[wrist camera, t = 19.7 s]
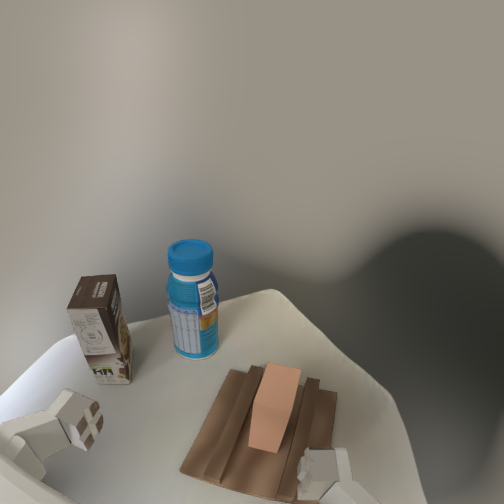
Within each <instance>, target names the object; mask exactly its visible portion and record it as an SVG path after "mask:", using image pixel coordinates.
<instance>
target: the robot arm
mask: <svg viewBox="0 0 504 504" xmlns="http://www.w3.org/2000/svg"><path fill="white" fill-rule="evenodd" d="M99 408H100V407H99V404H98V402H96V401H94V400H91V399H89V398H87V397H85V396H82V395H80V394H78V393H76V392H74V391H72V390H70V389H67V388H66V389H64V390H63V391H62V392H61V393H60V395H59V396H58V397H57V398H56V399H55V401H54V402H53V403H52V404H51V405H50V407H49V408H48V409H47V410H46V411H44V410H42V411H39V412H36V413H33V414H30V415H27V416H23V417H20V418H17V419H14V420H10V421H7V422H3V423H2V424H1V425H0V504H79V503H77V502H75V501H73V500H71V499H70V498H68V497H66V496H64V495H62V494H61V493H59V492H57V491H56V490H54V489H52V488H51V487H49V486H47V485H46V484H44V483H43V482H41V481H42V479H43V477H44V476H45V474H46V469H45V467H44V466H43V465H42V464H41V462H40V461H41V460H43V459H45V458H47V457H49V456H51V455H53V454H55V453H57V452H59V451H61V450H63V449H65V448H67V447H68V446H70V445H71V444H72V445H74V446H76V447H79V448H81V449H83V450H85V451H87V452H88V451H89V449H90V447H91V446H92V444H93V442H94V437H93V436H94V435H97V434H99V432H100V430H101V429H102V425H103V416H102V414H101V413H100V412H99V411H98V409H99ZM297 478H298V479H299V480H300V481H301V482H300V483H299V485H298V486H297V493H298V500H319V502H320V504H381V503H380V502H379V501H378V500H377V499H375V498H374V497H373V496H372V495H371V494H370V493H369V492H368V491H367V490H366V489H365V488H364V487H363V486H362V485H361V484H360V483H359V482H358V481H353V477H352V471H351V466H350V461H349V456H348V450H347V449H346V448H345V447H340V448H332V447H308V448H306V450H305V451H304V456H303V457H301V459H300V461H299V464H298V468H297Z"/></svg>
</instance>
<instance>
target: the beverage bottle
mask: <svg viewBox="0 0 504 504" xmlns="http://www.w3.org/2000/svg"><path fill="white" fill-rule="evenodd" d="M168 262H169V268H170V270H171V272H172V273H171V274H170V276H169V279H168V282H167V287H166V289H167V293H168V299H167V303H168V308H169V310H170V317H171V323H172V330H173V336H174V345H175V349H176V351H177V352H178V353H179V354H180V355H181V356H183V357H185V358H187V359H191V360H202V359H205V358H208V357H210V356H211V355H213V354H214V353H215V352H216V350H217V348H218V305H219V298H218V294H217V290H218V284H217V281H216V278H215V276H214V274H213V273H212V272H211V269H212V266H213V250H212V246H211V245H210V244H209V243H207V242H205V241H202V240H197V239H186V240H181V241H178V242H175V243H174V244H172V245H171V246H170V247H169V249H168Z"/></svg>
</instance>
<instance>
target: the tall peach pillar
mask: <svg viewBox="0 0 504 504" xmlns="http://www.w3.org/2000/svg"><path fill="white" fill-rule="evenodd" d="M301 370H302V369H297V368H292V367H288V366H283V365H278V364H274V363H269V362H268V364H267V366H266V369H265V372H264V375H263V378H262V380H261V383H260V386H259V389H258V391H257V394H256V397H255V399H254V403H253V411H252V419H251V427H250V435H249V443H248V447H252V448H256V449H260V450H264V451H269V452H273V453H277V452H278V449H279V446H280V444H281V441H282V438H283V435H284V432H285V429H286V426H287V423H288V420H289V417H290V414H291V411H292V408H293V404H294V400H295V396H296V391H297V387H298V383H299V379H300V374H301Z"/></svg>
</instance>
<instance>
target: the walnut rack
mask: <svg viewBox="0 0 504 504" xmlns="http://www.w3.org/2000/svg"><path fill="white" fill-rule="evenodd" d="M263 369H264V368H261V367H257V366H253V365H251V367H250V370H249V372H248V374H246V373H242V372H238V371H235V370H231V369H230V371H229V373H228V375H227V377H226V379H225V381H224V383H223V385H222V387H221V389H220V391H219V393H218V395H217V397H216V399H215V401H214V404H213V406H212V408H211V410H210V412H209V414H208V416H207V418H206V419H205V421H204V423H203V425H202V427H201V429H200V431H199V433H198V435H197V437H196V439H195V441H194V443H193V445H192V447H191V449H190V451H189V453H188V455H187V457H186V458H185V460H184V462H183V464H182V466H181V468H180V472H181V473H183V474H186V475H189V476H191V477H194V478H197V479H199V480H202V481H205V482H208V483H211V484H214V485H217V486H220V487H223V488H227V489H230V490H234V491H237V492H241V493H245V494H249V495H253V496H257V497H261V498H266V499H270V500H275V501H280V502H286V503H292V504H319V500H298V493H297V486H298V485H299V483H300V482H301V481H300V480H299V479H298V478H297V468H298V464H299V461H300V459H301V457H303V456H304V451H305V450H306V448H308V447H330V443H331V437H332V430H333V423H334V415H335V407H336V399H337V392H331V391H325V390H319V389H318V388H319V382H320V380H319V379H313V378H308V377H307V380H306V383H305V387H303V386H298V387H297V391H296V396H295V400H294V404H293V408H292V411H291V414H290V417H289V420H288V423H287V426H286V429H285V432H284V435H283V438H282V441H281V444H280V446H279V449H278V452H277V453H273V452H269V451H264V450H260V449H256V448H252V447H248V443H249V435H250V427H251V419H252V411H253V403H254V399H255V397H256V394H257V391H258V389H259V386H260V383H261V380H262V377H263Z"/></svg>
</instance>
